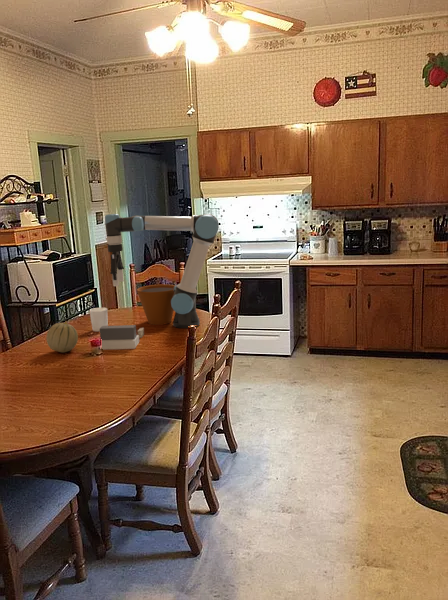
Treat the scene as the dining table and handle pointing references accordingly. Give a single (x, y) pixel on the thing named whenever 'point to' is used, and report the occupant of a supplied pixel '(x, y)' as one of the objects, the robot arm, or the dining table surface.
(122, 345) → the hole board
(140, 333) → the wooden rests
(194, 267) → the robot arm
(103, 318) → the white cylinder
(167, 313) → the flower pot
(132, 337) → the peg strip
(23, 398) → the dining table surface
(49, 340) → the cantaloupe
